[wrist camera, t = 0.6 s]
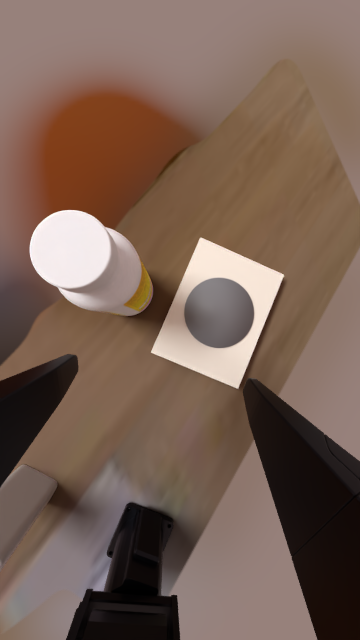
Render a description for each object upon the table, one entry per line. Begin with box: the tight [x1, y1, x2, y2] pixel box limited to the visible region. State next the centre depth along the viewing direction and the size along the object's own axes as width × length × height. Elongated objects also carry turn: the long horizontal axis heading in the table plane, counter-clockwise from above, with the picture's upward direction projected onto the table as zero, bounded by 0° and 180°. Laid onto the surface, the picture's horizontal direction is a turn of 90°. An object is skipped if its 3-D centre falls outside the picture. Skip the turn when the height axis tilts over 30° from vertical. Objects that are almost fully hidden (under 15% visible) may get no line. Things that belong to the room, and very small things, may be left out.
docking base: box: [151, 238, 284, 389], centre depth 22 cm, size 16×12×1 cm
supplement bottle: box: [30, 210, 153, 316], centre depth 16 cm, size 7×7×13 cm
